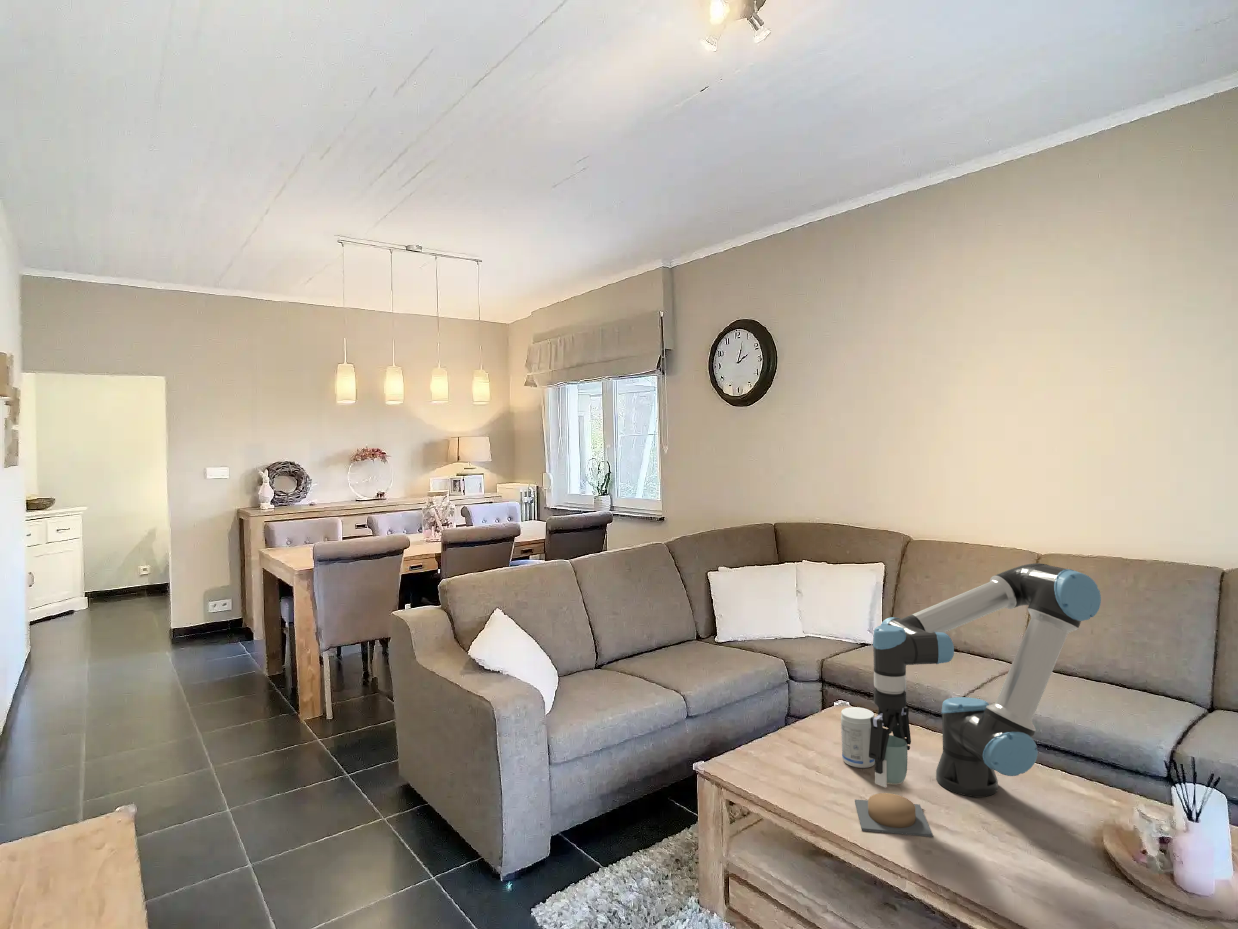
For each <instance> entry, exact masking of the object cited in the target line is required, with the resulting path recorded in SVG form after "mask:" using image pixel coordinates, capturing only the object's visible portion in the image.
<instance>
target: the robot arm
mask: <svg viewBox="0 0 1238 929" xmlns="http://www.w3.org/2000/svg"><path fill="white" fill-rule="evenodd" d="M1100 591H1101V590H1100V589H1099V588H1098V584H1097V583H1096V581H1095V580H1094V579H1093V578H1091V576H1089V575H1087V574H1086V573H1083V572H1079V571H1077V570H1074V569H1072V568H1063V567H1060V566H1059V567H1058V566H1055V565H1051V564H1050V565H1049V564H1046V563H1041V562H1040V563H1039V562H1037V563H1036V562H1035V563H1028V564H1024V565H1019V566H1016V567H1012V568H1010V569H1008V570H1005V571H1002V572H1000V573H997V574H995V575H992V576H991V577H990V578H989V582H986V583H983V584H982V585H979V586H976V587H974V588H971V589H970V590H967V591H964V592H962V593H960V594H957V595H955V596H953V597H950V598H947V599H945V600H943V601H940V602H938V603H936V604H934V605H931V606H928V607H926V608H924V609H922V610H919V611H916V612H915V613H912V614H909V615H907V616H905V617H902V618H901V617H900V618H899V617H895V616H893V617H892V616H891V617H888V618H885V619H883V621H882V622H881V624H880V625H877V626H876V627H875V628H874V630H873V635H872V636H873V639H872V649H873V686H874V688H873V702H874V704H875V705H876V706H877V708H878V711H877V715H876V716H874V717H871V719H870V721H871V734H870V745H869V757H870V758H872V759H874V760H875V764H874V784H875V785H879V786H880V787H883V788H887V787H888V786H887V785H888V783H887V760H885V759H884V758H885V753H886V748H887V744H888V739H889V735H891V734H892V735H893V736H895V737H897V738H901V739H904V740H905V741H906V742H907V751H910V749H911V746H910V745H911V743H912V738H911V731H910V730H911V728H910V727H911V726H910V721H909V719H910V718H909V713H910V712H909V711H910V708H909V707H908V706H907V692H906V690H907V666H914V665H939V664H946V663H950V662H951V661H952V660H953V658H954V655H955V647H954V642H953V641H952V639H951V637H950V635H948V634H947V632H949V631H952V630H953V629H954V630H955V629H957V628H959V627H961V626H964V625H967V624H968V623H969V624H970V623H971V622H973V621H976V620H978V619H981V618H984V617H985V616H988V615H991V614H993V613H995V612H997V611H1000V610H1002V609H1007V610H1012V609H1016V608H1018V607H1021V606H1022V607H1023V606H1028V607H1027V608H1026V610H1027V611H1028V614H1029V615H1030V619H1029V622H1028V625H1027V627H1026V629H1025V632H1024V634H1023V637H1022V639H1021V641H1020V644H1019V646H1018V648H1017V651H1016V653H1015V656H1014V658H1013V661H1012V663H1011V665H1010V668H1009V670H1008V672H1007V674H1006V676H1005V680H1004V682H1003V684H1002V687H1001V689H1000V692H999V694H998V696H997V698H996V701H995V703H993V704H990V703H989V702H988V701H987V700H984V699H980V698H976V697H966V696H965V697H964V696H959V697H958V696H957V697H955V696H954V697H949V698H947V699H945V700H943V702H942V704H941V705H942V707H941V712H940V713H941V725H942V726H941V727H942V732H941V733H942V753H941V756H940V758H939V761H938V763H937V766H936V770H935V779H936V782H937V783H938V784H939V785H940V786H941V787H942V788H944V789H946V790H948V791H950V792H953V793H955V794H959V795H963V796H969V797H975V798H976V797H981V798H982V797H989V796H992V795H995V794H996V793H997V792H998V790H999V780H998V777H997V774H996V772H997V773H999V774H1001V775H1003V776H1007V777H1018V776H1020V775H1021V774H1022V775H1023V774H1026V773H1027V772H1029V770H1030V769H1032V767H1033V766H1034V765H1035V763H1036V762H1037V759H1038V754H1039V753H1038V750H1039V749H1037V744H1036V741H1034V739H1033V738H1034V735H1035V733H1036V731H1037V729H1036V727H1035V725H1034V723H1033V719H1034V717H1035V714H1036V712H1037V709H1038V706H1039V704H1040V702H1041V700H1042V697H1043V695H1044V692H1045V690H1046V687H1047V686H1048V683H1049V680H1050V678H1051V676H1052V673H1053V672H1054V668H1055V666H1056V663H1057V662H1058V660H1059V656H1060V654H1061V652H1062V649H1063V647H1064V644H1065V642H1066V640H1067V638H1068V635H1069V634H1070V633H1072V632H1075V631H1077V630H1079V628H1080V626H1081V623H1082V622H1084V621H1088V620H1091V618H1094V617H1095V616H1096V615H1097V613H1098V612H1099V610H1100V608H1101V603H1102V595H1101V592H1100ZM995 771H996V772H995Z"/></svg>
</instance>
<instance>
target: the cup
mask: <svg viewBox="0 0 1238 929" xmlns="http://www.w3.org/2000/svg"><path fill="white" fill-rule="evenodd" d="M884 759H885V760H887V785H900V784H903V782H904V781H905V780H906V776H907V772H908V750H907V742H906V741H905V740H904V739H901V738H897V737H895V736H893V734H892V735H891V734H889V739H888V744H887V748H886V753H885V758H884ZM874 763H875V760H874Z"/></svg>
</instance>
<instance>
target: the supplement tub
mask: <svg viewBox="0 0 1238 929" xmlns="http://www.w3.org/2000/svg"><path fill="white" fill-rule="evenodd" d="M871 717H874V718H875V713H874V712H873V711H872V710H870V709H867V708H864V707H859V706H857V707H856V706H853V707H852V706H849V707H845V708H843V709H842V710H841V712H840V726H841V728H840V729H841V732H840V734H841V756H842V761H844V763H845V764H847V765H848V766H851V767H853V768H857V769H858V768H859V769H868V768H871V767H874V766H875V763H874V759H872V758H870V757H869V745H870V734H871V721H870V719H871Z"/></svg>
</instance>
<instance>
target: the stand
mask: <svg viewBox="0 0 1238 929" xmlns="http://www.w3.org/2000/svg"><path fill="white" fill-rule="evenodd" d="M854 804H855V808H856V813H857V817H858V821H859V824H860V828H861V829H860V830H861V831H863V832H873V833H884V834H885V833H886V834H897V835H906V836H907V835H909V836H916V837H917V836H920V837H931V838H933V836H934V835H933V832H932V830H931V827H930V826H929V823H928V821H927V818H926V816H925V814H924V811H923V808H922V806H921V804H917V803H914V802H913V801H911V800H910V799H909V798H907V797H905V796H903V795H899V794H894V793H885V792H882V793H875V794H872V795H871V796H869V797H868V799H867V800H866V799H857V798H856V799H854Z"/></svg>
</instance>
